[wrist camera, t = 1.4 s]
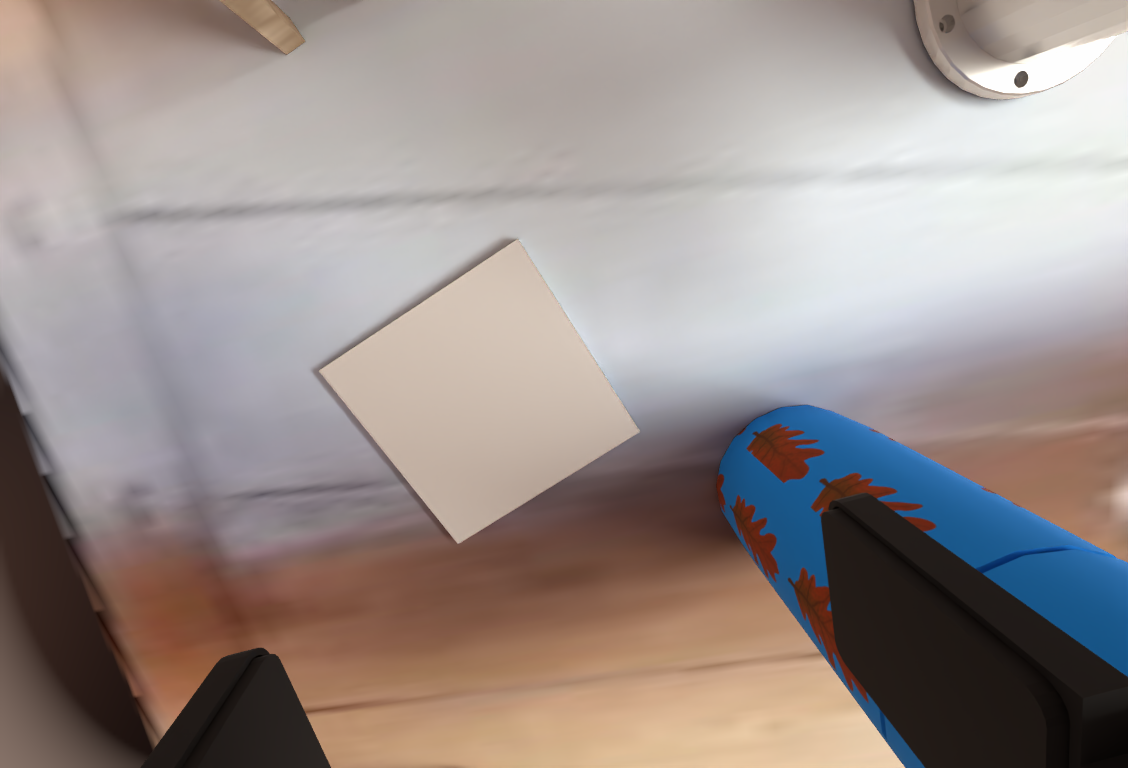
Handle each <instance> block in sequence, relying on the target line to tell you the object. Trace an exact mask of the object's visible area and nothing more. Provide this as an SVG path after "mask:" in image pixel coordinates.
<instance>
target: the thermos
mask: <svg viewBox="0 0 1128 768" xmlns="http://www.w3.org/2000/svg"><path fill="white" fill-rule="evenodd" d="M716 488H717V493H718V498H719V503H720V508H721V510H722V512H723V514H724V515H725V517H726V519H727V520H728V522H729V523H730V525H731V527H732V528H733V530H734V532H735V533H736V535H737V536H738V538H739V540H740V541H741V543H742V544H743V546H744V547H745V549H746V550H747V552H748V553H749V555H750V556H751V558H752V559H753V561H754V562H755V563H756V565H757V566H758V568H759V569H760V570H761V572H762V573H763V574H764V576H765V577H766V578H767V580H768V581H769V583H770V584H771V585H772V587H773V588H774V589H775V591H776V592H777V593H778V595H779V596H780V598H781V599H782V600H783V602H784V603H785V604H786V606H787V607H788V608H789V610H790V611H791V613H792V614H793V615H794V617H795V618H796V619H797V621H798V622H799V623H800V625H801V626H802V628H803V629H804V630H805V632H806V633H807V634H808V636H809V637H810V638H811V640H812V641H813V643H814V644H815V645H816V647H817V648H818V649H819V651H820V652H821V653H822V655H823V656H824V658H825V659H826V660H827V662H828V663H829V664H830V666H831V667H832V668H833V670H834V671H835V673H836V674H837V675H838V677H839V678H840V679H841V681H842V682H843V683H844V685H845V686H846V688H847V689H848V690H849V692H850V693H851V694H852V696H853V697H854V698H855V700H856V701H857V703H858V704H859V705H860V707H861V708H862V709H863V711H864V712H865V713H866V715H867V716H868V718H869V719H870V720H871V722H872V723H873V724H874V726H875V727H876V728H877V730H878V731H879V733H880V734H881V735H882V737H883V738H884V739H885V741H886V742H887V743H888V745H889V746H890V748H891V749H892V750H893V752H894V753H895V754H896V756H897V757H898V758H899V760H900V761H901V763H902V764H903V765H904V766H905V768H925V767H924V766H923V764H922V763H921V762H920V760H919V759H918V758H917V757H916V755H915V754H914V753H913V751H912V750H911V749H910V747H909V746H908V745H907V744H906V742H905V741H904V740H903V738H902V737H901V736H900V735H899V733H898V732H897V731H896V729H895V728H894V727H893V726H892V724H891V723H890V722H889V720H888V719H887V718H886V717H885V715H884V714H883V713H882V711H881V710H880V709H879V707H878V706H877V705H876V704H875V702H874V701H873V700H872V698H871V697H870V696H869V695H868V693H867V692H866V691H865V689H864V688H863V687H862V686H861V684H860V683H859V682H858V680H857V679H856V678H855V676H854V675H853V674H852V673H851V671H850V670H849V669H848V667H847V666H846V665H845V663H844V662H843V660H842V658H841V656H840V654H839V652H838V650H837V647H836V643H835V638H834V629H833V620H832V612H831V603H830V594H829V586H828V577H827V568H826V560H825V551H824V542H823V534H822V525H821V515H822V513H823V512H826V511H828V507H829V504H830V502H831V501H832V500H836V499H840V498H844V497H848V496H852V495H855V494H859V493H869V494H871V495H872V496H874V497H875V498H877V499H878V500H879V501H881V502H882V503H884V504H885V505H886V506H888V507H889V508H891V509H892V510H893V511H895V512H896V513H898V514H899V515H901V516H902V517H903V518H905V519H906V520H908V521H909V522H910V523H912V524H913V525H915V526H916V527H917V528H919V529H920V530H922V531H923V532H924V533H926V534H927V535H929V536H930V537H931V538H933V539H934V540H936V541H937V542H939V543H940V544H941V545H943V546H944V547H946V548H947V549H948V550H950V551H951V552H953V553H954V554H955V555H957V556H958V557H960V558H961V559H962V560H964V561H965V562H967V563H968V564H969V565H971V566H972V567H974V568H975V569H977V570H978V571H979V572H981V573H982V574H984V575H985V576H986V577H988V578H989V579H991V580H992V581H993V582H995V583H996V584H998V585H999V586H1000V587H1002V588H1003V589H1005V590H1006V591H1007V592H1009V593H1010V594H1012V595H1013V596H1015V597H1016V598H1017V599H1019V600H1020V601H1022V602H1023V603H1024V604H1026V605H1027V606H1029V607H1030V608H1031V609H1033V610H1034V611H1036V612H1037V613H1038V614H1040V615H1041V616H1043V617H1044V618H1045V619H1047V620H1048V621H1050V622H1051V623H1053V624H1054V625H1055V626H1057V627H1058V628H1060V629H1061V630H1062V631H1064V632H1065V633H1067V634H1068V635H1069V636H1071V637H1072V638H1074V639H1075V640H1076V641H1078V642H1079V643H1081V644H1082V645H1083V646H1085V647H1086V648H1088V649H1089V650H1091V651H1092V652H1093V653H1095V654H1096V655H1098V656H1099V657H1100V658H1102V659H1103V660H1105V661H1106V662H1107V663H1109V664H1110V665H1112V666H1113V667H1114V668H1116V669H1117V670H1119V671H1120V672H1121V673H1123V674H1124V675H1126V676H1127V677H1128V563H1127V562H1125V561H1123V560H1120V559H1117V558H1116V557H1115V556H1113V555H1112V554H1110V553H1108V552H1106V551H1104V550H1102V549H1100V548H1098V547H1096V546H1095V545H1093V544H1091V543H1089V542H1087V541H1085V540H1083V539H1081V538H1079V537H1077V536H1075V535H1074V534H1072V533H1070V532H1068V531H1066V530H1064V529H1062V528H1060V527H1058V526H1056V525H1055V524H1053V523H1051V522H1049V521H1047V520H1045V519H1043V518H1041V517H1039V516H1037V515H1035V514H1034V513H1032V512H1030V511H1028V510H1026V509H1024V508H1022V507H1020V506H1018V505H1016V504H1015V503H1013V502H1011V501H1009V500H1007V499H1005V498H1003V497H1001V496H999V495H997V494H996V493H994V492H992V491H990V490H988V489H986V488H984V487H982V486H980V485H978V484H976V483H975V482H973V481H971V480H969V479H967V478H965V477H963V476H961V475H959V474H957V473H956V472H954V471H952V470H950V469H948V468H946V467H944V466H942V465H940V464H938V463H936V462H935V461H933V460H931V459H929V458H927V457H925V456H923V455H921V454H919V453H917V452H916V451H914V450H912V449H910V448H908V447H906V446H904V445H902V444H900V443H898V442H896V441H895V440H893V439H891V438H889V437H887V436H885V435H883V434H881V433H879V432H877V431H876V430H874V429H872V428H870V427H867V426H865V425H863V424H860V423H858V422H856V421H853V420H851V419H849V418H846V417H844V416H842V415H839V414H837V413H835V412H832V411H829V410H825V409H821V408H817V407H814V406H810V405H801V406H791V407H781V408H778V409H776V410H774V411H772V412H769V413H767V414H765V415H763V416H761V417H758V418H756V419H754V420H753V421H752V422H751V423H750V424H749V425H748V426H747V427H746V428H744V429H743V430H742V431H741V432H740V433H739V434H738V435H737V436H736V437H734V439H733V441H732V442H731V444H730V446H729V448H728V449H727V451H726V453H725V455H724V456H723V458H722V460H721V463H720V468H719V473H718V479H717V484H716Z"/></svg>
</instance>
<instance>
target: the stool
mask: <svg viewBox="0 0 1128 768" xmlns="http://www.w3.org/2000/svg"><path fill="white" fill-rule="evenodd" d="M219 1H220V2H222V3H223V4H224V5H225V6H227V7H228V8H229V9H230V10H232V11H233V12H234V13H235V14H237V15H238V16H239V17H240V18H242V19H243V20H244V21H245V22H247V23H248V24H249V25H250V26H251V27H253V28H254V29H255V30H256V31H258V32H259V33H260V34H261V35H263V36H264V37H265V38H266V39H268V40H269V41H270V42H271V43H273V44H274V45H275V46H276V47H277V48H279V49H280V50H281V51H282V52H284V53H285V54H286V55H287V54H289V53H290V52H292V51H293V50H294V49H296V48H297V47H298V46H300V45H301V44H303V43H304V42H305V40H304V39H303V37H302V36H301V34H300V33H299V31H298V30H297V28H296V27H295V25H294V24H293V22H292V21H291V19H290V18H289V17H288V16H287V15H286V14H285V13H284V12H283V11H282V10H281V9H280V8H279V7H278V6H277V5H276V4H274V3H273V2H272V1H271V0H219Z"/></svg>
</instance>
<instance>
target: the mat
mask: <svg viewBox="0 0 1128 768" xmlns="http://www.w3.org/2000/svg"><path fill="white" fill-rule="evenodd" d="M319 372H320V373H321V374H322V376H323V377H324V378H325V379H326V381H327V382H328V383H329V384H330V385H331V387H332V388H333V389H334V390H335V392H336V393H337V394H338V395H339V397H340V398H341V399H342V400H343V402H344V403H345V404H346V405H347V407H348V408H349V409H350V410H351V412H352V413H353V414H354V415H355V417H356V418H357V419H358V420H359V422H360V423H361V424H362V425H363V427H364V428H365V429H366V430H367V431H368V433H369V434H370V435H371V436H372V438H373V439H374V440H375V441H376V443H377V444H378V445H379V446H380V448H381V449H382V450H383V451H384V453H385V454H386V455H387V456H388V458H389V459H390V460H391V461H392V463H393V464H394V465H395V466H396V468H397V469H398V470H399V471H400V473H401V474H402V475H403V476H404V478H405V479H406V480H407V481H408V482H409V484H410V485H411V486H412V487H413V489H414V490H415V491H416V492H417V494H418V495H419V496H420V497H421V499H422V500H423V501H424V502H425V504H426V505H427V506H428V507H429V509H430V510H431V511H432V512H433V514H434V515H435V516H436V517H437V519H438V520H439V521H440V522H441V524H442V525H443V526H444V527H445V528H446V530H447V531H448V532H449V533H450V535H451V536H452V537H453V538H454V540H455V541H456V542H457V543H458V544H459V543H461V542H462V541H464V540H466V539H467V538H469V537H470V536H472V535H474V534H475V533H477V532H478V531H480V530H482V529H483V528H485V527H487V526H488V525H490V524H491V523H493V522H495V521H496V520H498V519H500V518H501V517H503V516H504V515H506V514H508V513H509V512H511V511H513V510H514V509H516V508H517V507H519V506H521V505H522V504H524V503H525V502H527V501H529V500H530V499H532V498H534V497H535V496H537V495H538V494H540V493H542V492H543V491H545V490H547V489H548V488H550V487H551V486H553V485H555V484H556V483H558V482H560V481H561V480H563V479H564V478H566V477H568V476H569V475H571V474H572V473H574V472H576V471H577V470H579V469H581V468H582V467H584V466H585V465H587V464H589V463H590V462H592V461H594V460H595V459H597V458H598V457H600V456H602V455H603V454H605V453H607V452H608V451H610V450H611V449H613V448H615V447H616V446H618V445H619V444H621V443H623V442H624V441H626V440H628V439H629V438H631V437H632V436H634V435H636V434H637V433H639V432H640V431H639V429H638V428H637V426H636V425H635V423H634V421H633V420H632V418H631V417H630V415H629V413H628V412H627V410H626V409H625V407H624V406H623V404H622V402H621V401H620V399H619V398H618V396H617V395H616V393H615V391H614V390H613V388H612V387H611V385H610V383H609V382H608V380H607V379H606V377H605V376H604V374H603V372H602V371H601V369H600V368H599V366H598V365H597V363H596V361H595V360H594V358H593V357H592V355H591V353H590V352H589V350H588V349H587V347H586V346H585V344H584V342H583V341H582V339H581V338H580V336H579V335H578V333H577V331H576V330H575V328H574V327H573V325H572V323H571V322H570V320H569V319H568V317H567V316H566V314H565V312H564V311H563V309H562V308H561V306H560V305H559V303H558V301H557V300H556V298H555V297H554V295H553V293H552V292H551V290H550V289H549V287H548V286H547V284H546V282H545V281H544V279H543V278H542V276H541V275H540V273H539V271H538V270H537V268H536V267H535V265H534V263H533V262H532V260H531V259H530V257H529V256H528V254H527V252H526V251H525V249H524V248H523V246H522V244H521V243H520V241H519V240H518V239H517V240H515V241H514V242H512V243H511V244H509V245H508V246H506V247H505V248H503V249H502V250H500V251H499V252H497V253H496V254H494V255H493V256H491V257H490V258H488V259H487V260H485V261H484V262H482V263H481V264H479V265H478V266H476V267H475V268H473V269H472V270H470V271H469V272H467V273H465V274H464V275H462V276H461V277H459V278H458V279H456V280H455V281H453V282H452V283H450V284H449V285H447V286H446V287H444V288H443V289H441V290H440V291H438V292H437V293H435V294H434V295H432V296H431V297H429V298H428V299H426V300H425V301H423V302H422V303H420V304H419V305H417V306H416V307H414V308H413V309H411V310H410V311H408V312H407V313H405V314H404V315H402V316H401V317H399V318H398V319H396V320H395V321H393V322H392V323H390V324H389V325H387V326H386V327H384V328H382V329H381V330H379V331H378V332H376V333H375V334H373V335H372V336H370V337H369V338H367V339H366V340H364V341H363V342H361V343H360V344H358V345H357V346H355V347H354V348H352V349H351V350H349V351H348V352H346V353H345V354H343V355H342V356H340V357H339V358H337V359H336V360H334V361H333V362H331V363H330V364H328V365H327V366H325V367H324V368H322V369H321V370H319Z"/></svg>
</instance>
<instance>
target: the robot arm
mask: <svg viewBox="0 0 1128 768" xmlns="http://www.w3.org/2000/svg"><path fill="white" fill-rule="evenodd" d="M914 5H915V13H916V21H917V25H918V28H919V31H920V34H921V38H922V41H923V44H924V46H925V48H926V50H927V51H928V53H929V55H930V57H931V59H932V61H933V62H934V64H935V65H936V66H937V67H938V68H939V70H940V71H941V72H942V73H943V74H944V75H945V77H946V78H947V79H949V80H950V81H951V82H953V83H954V84H956V85H957V86H958V87H960V88H961V89H963V90H965V91H967V92H970V93H972V94H975V95H977V96H980V97H985V98H992V99H999V100H1001V99H1013V98H1021V97H1024V96H1028V95H1032V94H1036V93H1039V92H1043V91H1045V90H1048V89H1050V88H1053V87H1055V86H1058V85H1060V84H1063V83H1064V82H1066V81H1067V80H1069V79H1071V78H1072V77H1074V76H1075V75H1077V74H1079V73H1080V72H1082V71H1083V70H1084V69H1085V68H1086V67H1088V66H1089V65H1090V64H1091V63H1092V62H1093V61H1094V60H1095V59H1097V58H1098V57H1099V56H1100V55H1101V54H1102V53H1103V51H1104V50H1105V49H1106V48H1107V47H1108V46H1109V44H1110V43H1111V42H1112V41H1113V40H1114V38H1115V37H1116V36H1117V35H1119V34H1122V33H1125V32H1128V0H914ZM821 525H822V534H823V542H824V551H825V560H826V568H827V577H828V586H829V594H830V603H831V612H832V620H833V629H834V638H835V643H836V647H837V650H838V652H839V654H840V656H841V658H842V660H843V662H844V663H845V665H846V666H847V667H848V669H849V670H850V671H851V673H852V674H853V675H854V676H855V678H856V679H857V680H858V682H859V683H860V684H861V686H862V687H863V688H864V689H865V691H866V692H867V693H868V695H869V696H870V697H871V698H872V700H873V701H874V702H875V704H876V705H877V706H878V707H879V709H880V710H881V711H882V713H883V714H884V715H885V717H886V718H887V719H888V720H889V722H890V723H891V724H892V726H893V727H894V728H895V729H896V731H897V732H898V733H899V735H900V736H901V737H902V738H903V740H904V741H905V742H906V744H907V745H908V746H909V747H910V749H911V750H912V751H913V753H914V754H915V755H916V757H917V758H918V759H919V760H920V762H921V763H922V764H923V766H924V767H925V768H1128V677H1127V676H1126V675H1124V674H1123V673H1121V672H1120V671H1119V670H1117V669H1116V668H1114V667H1113V666H1112V665H1110V664H1109V663H1107V662H1106V661H1105V660H1103V659H1102V658H1100V657H1099V656H1098V655H1096V654H1095V653H1093V652H1092V651H1091V650H1089V649H1088V648H1086V647H1085V646H1083V645H1082V644H1081V643H1079V642H1078V641H1076V640H1075V639H1074V638H1072V637H1071V636H1069V635H1068V634H1067V633H1065V632H1064V631H1062V630H1061V629H1060V628H1058V627H1057V626H1055V625H1054V624H1053V623H1051V622H1050V621H1048V620H1047V619H1045V618H1044V617H1043V616H1041V615H1040V614H1038V613H1037V612H1036V611H1034V610H1033V609H1031V608H1030V607H1029V606H1027V605H1026V604H1024V603H1023V602H1022V601H1020V600H1019V599H1017V598H1016V597H1015V596H1013V595H1012V594H1010V593H1009V592H1007V591H1006V590H1005V589H1003V588H1002V587H1000V586H999V585H998V584H996V583H995V582H993V581H992V580H991V579H989V578H988V577H986V576H985V575H984V574H982V573H981V572H979V571H978V570H977V569H975V568H974V567H972V566H971V565H969V564H968V563H967V562H965V561H964V560H962V559H961V558H960V557H958V556H957V555H955V554H954V553H953V552H951V551H950V550H948V549H947V548H946V547H944V546H943V545H941V544H940V543H939V542H937V541H936V540H934V539H933V538H931V537H930V536H929V535H927V534H926V533H924V532H923V531H922V530H920V529H919V528H917V527H916V526H915V525H913V524H912V523H910V522H909V521H908V520H906V519H905V518H903V517H902V516H901V515H899V514H898V513H896V512H895V511H893V510H892V509H891V508H889V507H888V506H886V505H885V504H884V503H882V502H881V501H879V500H878V499H877V498H875V497H874V496H872V495H871V494H869V493H859V494H855V495H852V496H848V497H844V498H840V499H836V500H832V501H831V502H830V504H829V507H828V511H826V512H823V513H822V515H821ZM141 768H331V767H330V765H329V762H328V760H327V758H326V756H325V754H324V752H323V750H322V748H321V745H320V743H319V741H318V739H317V737H316V735H315V733H314V731H313V728H312V726H311V724H310V722H309V720H308V718H307V716H306V714H305V712H304V709H303V707H302V705H301V703H300V701H299V699H298V697H297V695H296V692H295V690H294V688H293V686H292V684H291V682H290V680H289V678H288V675H287V673H286V671H285V669H284V667H283V665H282V663H281V661H280V659H279V657H278V656H276V655H275V654H269V652H268V651H267V650H265V649H264V648H256V649H252V650H248V651H244V652H240V653H236V654H232V655H228V656H225V657H223V658H221V659H220V660H219V661H218V662H217V663H216V665H215V666H214V668H213V669H212V670H211V672H210V673H209V674H208V676H207V677H206V679H205V680H204V681H203V683H202V684H201V685H200V687H199V688H198V689H197V691H196V692H195V694H194V695H193V696H192V698H191V699H190V700H189V702H188V703H187V705H186V706H185V707H184V709H183V710H182V711H181V713H180V714H179V716H178V717H177V718H176V720H175V721H174V722H173V724H172V725H171V727H170V728H169V729H168V731H167V732H166V733H165V735H164V736H163V738H162V739H161V740H160V742H159V743H158V744H157V746H156V747H155V749H154V750H153V751H152V753H151V754H150V755H149V757H148V758H147V760H146V761H145V762H144V764H143V765H142V766H141Z"/></svg>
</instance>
